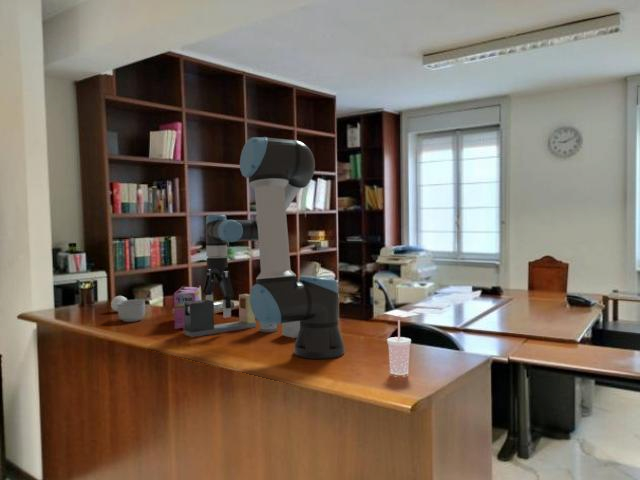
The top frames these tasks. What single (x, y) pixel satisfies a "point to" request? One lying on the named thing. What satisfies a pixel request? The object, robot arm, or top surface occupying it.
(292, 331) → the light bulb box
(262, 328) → the travel mug
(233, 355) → the top surface
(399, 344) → the beverage cup
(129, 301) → the teacup
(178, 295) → the gum box
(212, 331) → the base board
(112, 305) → the white ovoid
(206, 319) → the sleeve and socket
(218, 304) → the slip tube
